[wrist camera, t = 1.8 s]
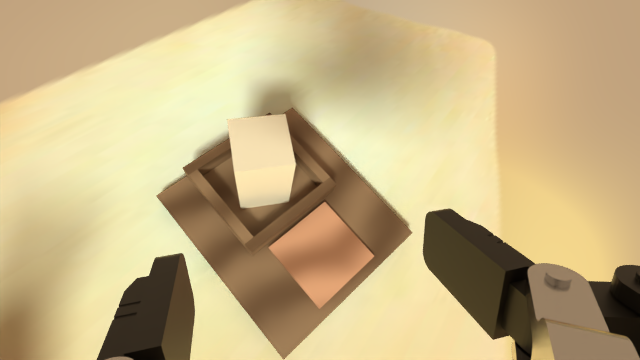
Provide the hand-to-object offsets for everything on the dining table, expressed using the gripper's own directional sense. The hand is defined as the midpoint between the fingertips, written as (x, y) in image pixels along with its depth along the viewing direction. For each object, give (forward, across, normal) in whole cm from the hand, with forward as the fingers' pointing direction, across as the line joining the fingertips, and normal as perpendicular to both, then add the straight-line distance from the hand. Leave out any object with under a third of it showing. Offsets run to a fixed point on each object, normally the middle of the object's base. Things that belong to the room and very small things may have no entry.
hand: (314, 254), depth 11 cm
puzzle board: (+24, -2, +11) cm, 26 cm away
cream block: (+26, 0, +8) cm, 27 cm away
